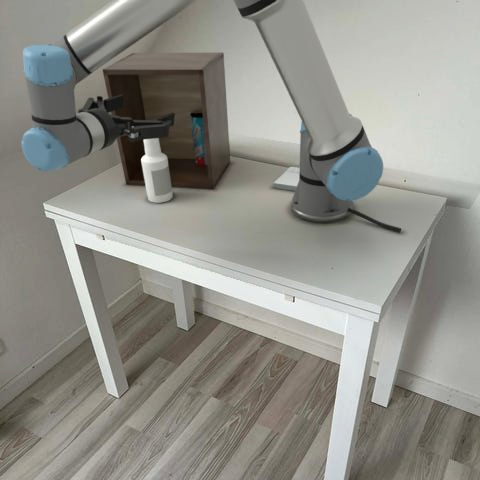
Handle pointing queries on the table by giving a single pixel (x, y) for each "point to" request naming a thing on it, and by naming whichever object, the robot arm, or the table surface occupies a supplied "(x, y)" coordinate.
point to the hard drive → (288, 179)
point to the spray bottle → (156, 172)
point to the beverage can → (199, 138)
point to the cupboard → (179, 102)
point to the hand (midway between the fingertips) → (147, 109)
